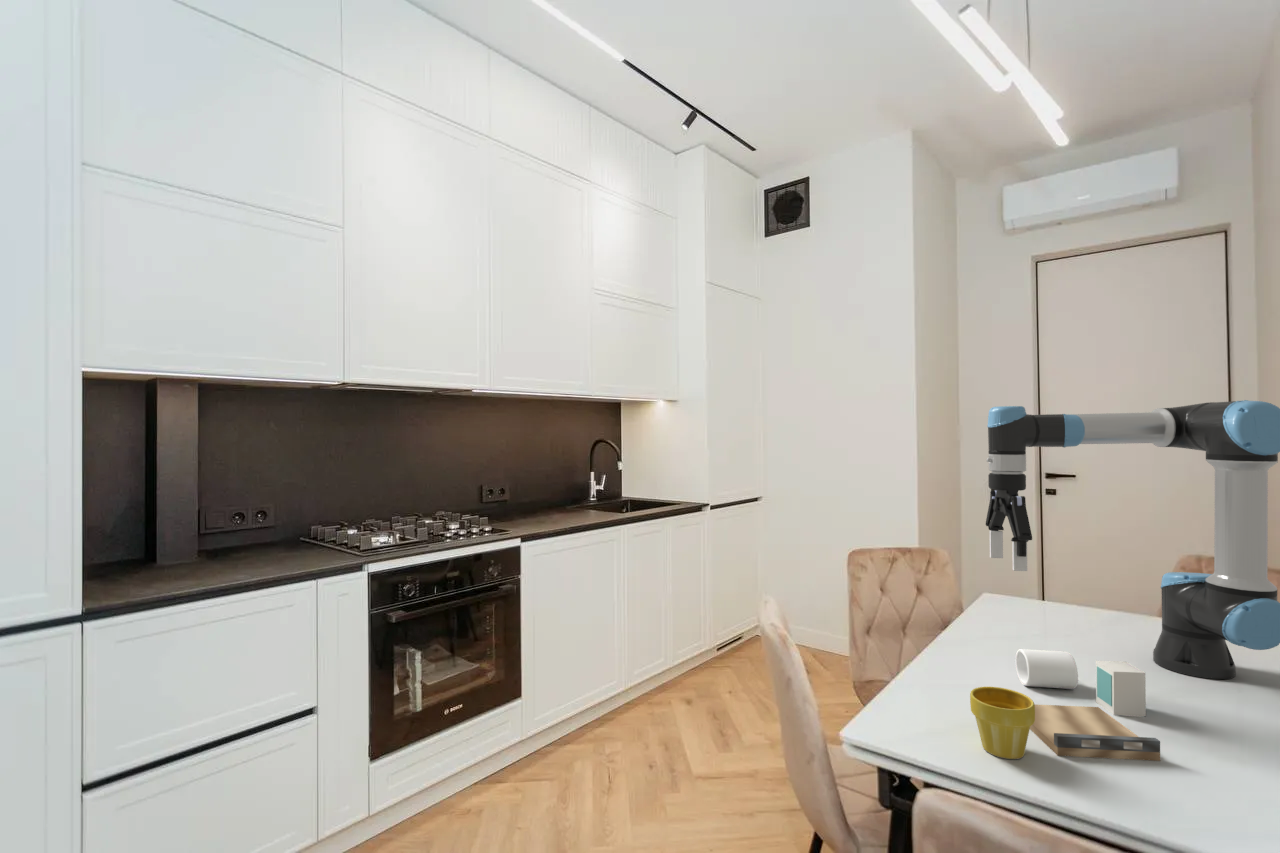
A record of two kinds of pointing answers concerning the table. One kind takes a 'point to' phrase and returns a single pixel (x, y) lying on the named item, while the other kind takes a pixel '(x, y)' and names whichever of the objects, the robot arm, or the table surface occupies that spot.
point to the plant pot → (1002, 720)
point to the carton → (1120, 688)
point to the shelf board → (1090, 734)
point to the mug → (1046, 669)
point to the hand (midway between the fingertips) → (1007, 564)
